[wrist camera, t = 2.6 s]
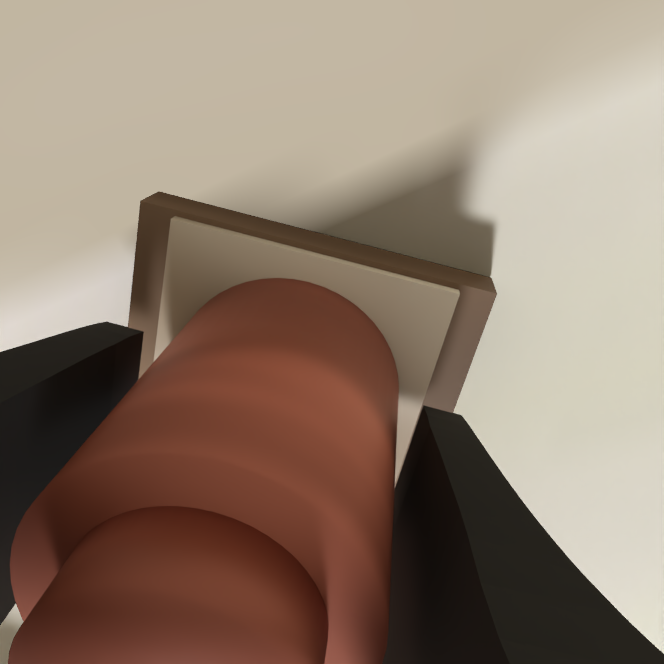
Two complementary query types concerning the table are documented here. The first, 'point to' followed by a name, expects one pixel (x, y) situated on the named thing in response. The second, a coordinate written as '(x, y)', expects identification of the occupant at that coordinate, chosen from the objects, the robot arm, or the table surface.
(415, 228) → the table surface
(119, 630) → the pawn
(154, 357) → the board
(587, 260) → the table surface
